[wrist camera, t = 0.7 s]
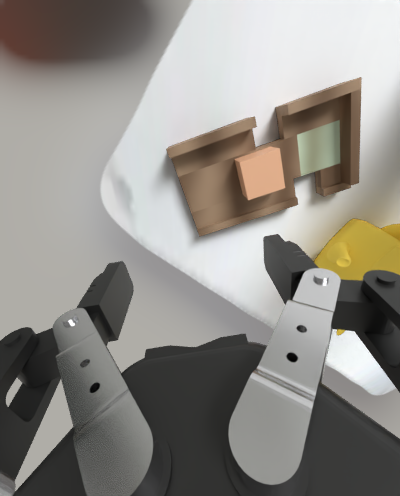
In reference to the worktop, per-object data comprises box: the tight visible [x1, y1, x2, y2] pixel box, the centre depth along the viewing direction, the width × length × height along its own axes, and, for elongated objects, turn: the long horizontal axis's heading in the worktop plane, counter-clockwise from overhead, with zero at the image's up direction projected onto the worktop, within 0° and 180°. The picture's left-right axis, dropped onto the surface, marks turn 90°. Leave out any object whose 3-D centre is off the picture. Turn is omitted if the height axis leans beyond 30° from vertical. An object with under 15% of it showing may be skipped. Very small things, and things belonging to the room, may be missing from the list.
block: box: [234, 147, 285, 200], centre depth 27 cm, size 4×4×3 cm
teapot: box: [314, 219, 400, 335], centre depth 32 cm, size 15×14×10 cm
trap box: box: [166, 77, 361, 236], centre depth 28 cm, size 21×12×4 cm, turn 108°
